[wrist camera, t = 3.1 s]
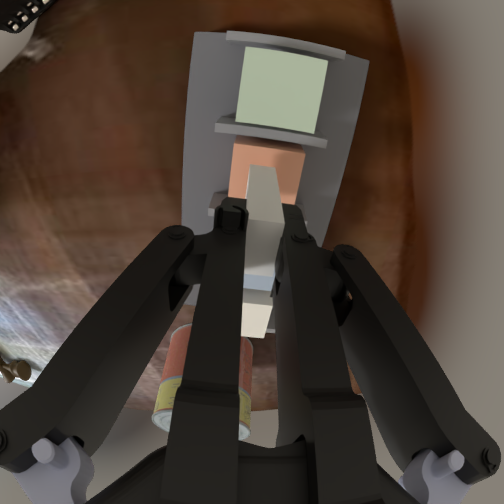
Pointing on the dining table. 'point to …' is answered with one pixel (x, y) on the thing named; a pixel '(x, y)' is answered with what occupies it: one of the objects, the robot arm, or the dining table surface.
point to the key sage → (280, 89)
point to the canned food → (174, 377)
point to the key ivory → (255, 312)
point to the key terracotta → (266, 154)
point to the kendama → (15, 370)
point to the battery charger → (20, 13)
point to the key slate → (258, 282)
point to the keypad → (263, 129)
